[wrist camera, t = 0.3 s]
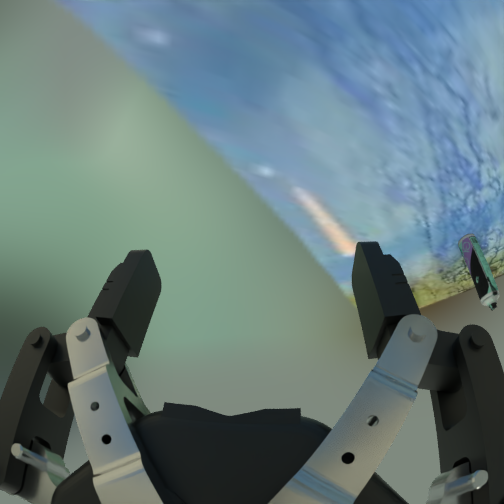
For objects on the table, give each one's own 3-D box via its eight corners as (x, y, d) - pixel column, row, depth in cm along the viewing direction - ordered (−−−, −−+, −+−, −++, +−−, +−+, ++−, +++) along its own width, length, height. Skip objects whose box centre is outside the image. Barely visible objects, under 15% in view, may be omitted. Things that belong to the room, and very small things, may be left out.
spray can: (458, 238, 61) (486, 309, 49) (475, 231, 58) (505, 301, 47) (457, 248, 64) (483, 316, 53) (473, 241, 62) (501, 308, 51)
